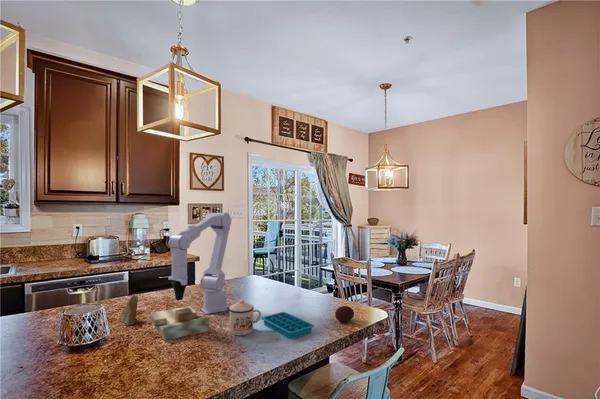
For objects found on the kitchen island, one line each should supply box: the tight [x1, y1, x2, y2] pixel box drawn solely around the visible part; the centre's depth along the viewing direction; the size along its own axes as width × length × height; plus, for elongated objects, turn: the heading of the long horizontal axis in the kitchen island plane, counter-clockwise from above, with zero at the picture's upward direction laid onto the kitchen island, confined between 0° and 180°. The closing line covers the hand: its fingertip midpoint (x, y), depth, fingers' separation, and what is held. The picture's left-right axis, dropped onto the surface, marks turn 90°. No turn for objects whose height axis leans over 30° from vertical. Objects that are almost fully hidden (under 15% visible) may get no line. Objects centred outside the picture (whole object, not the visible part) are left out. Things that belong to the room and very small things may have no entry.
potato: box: [334, 305, 355, 323], centre depth 130 cm, size 8×9×6 cm
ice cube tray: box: [260, 311, 315, 340], centre depth 123 cm, size 12×20×3 cm, turn 38°
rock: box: [120, 294, 139, 326], centre depth 130 cm, size 11×9×10 cm
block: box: [175, 308, 192, 323], centre depth 120 cm, size 5×5×5 cm
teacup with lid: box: [228, 298, 262, 336], centre depth 121 cm, size 12×9×12 cm
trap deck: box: [149, 305, 210, 341], centre depth 127 cm, size 16×26×4 cm, turn 35°
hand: (179, 299), depth 126 cm, fingers closed
